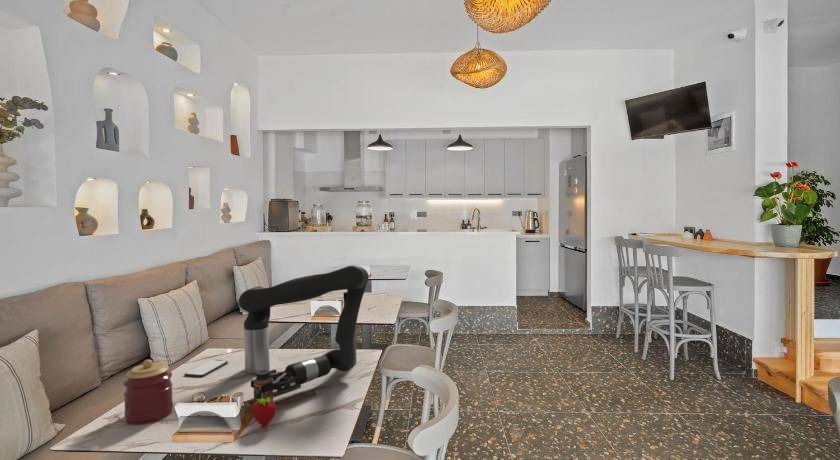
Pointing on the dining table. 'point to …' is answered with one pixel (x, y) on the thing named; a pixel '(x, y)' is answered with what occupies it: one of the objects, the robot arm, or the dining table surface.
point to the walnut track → (248, 403)
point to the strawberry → (264, 411)
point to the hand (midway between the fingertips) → (256, 387)
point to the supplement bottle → (261, 380)
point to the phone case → (206, 368)
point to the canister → (148, 393)
